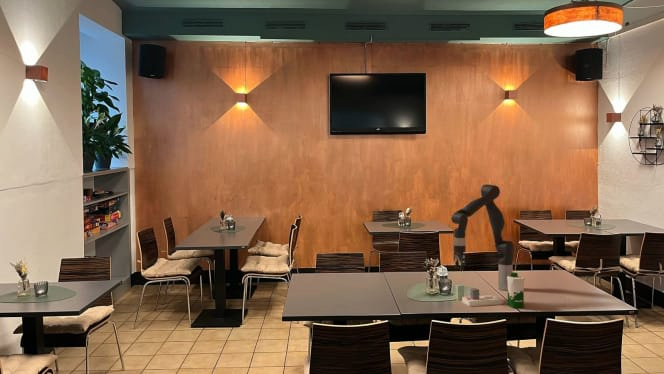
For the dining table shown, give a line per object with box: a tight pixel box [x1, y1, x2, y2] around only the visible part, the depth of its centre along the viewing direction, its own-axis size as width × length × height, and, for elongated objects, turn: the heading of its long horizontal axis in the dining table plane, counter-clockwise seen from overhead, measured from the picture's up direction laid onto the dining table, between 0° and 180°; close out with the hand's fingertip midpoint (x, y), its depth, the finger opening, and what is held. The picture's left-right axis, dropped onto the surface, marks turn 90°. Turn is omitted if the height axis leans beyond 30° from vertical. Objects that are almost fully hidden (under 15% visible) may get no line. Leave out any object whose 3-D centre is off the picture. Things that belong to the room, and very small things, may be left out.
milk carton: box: [507, 272, 525, 309], centre depth 340 cm, size 9×9×20 cm
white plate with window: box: [461, 287, 504, 307], centre depth 350 cm, size 22×11×9 cm, turn 99°
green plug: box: [455, 284, 465, 301], centre depth 360 cm, size 4×4×9 cm
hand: (459, 269), depth 359 cm, fingers open, 8 cm apart
